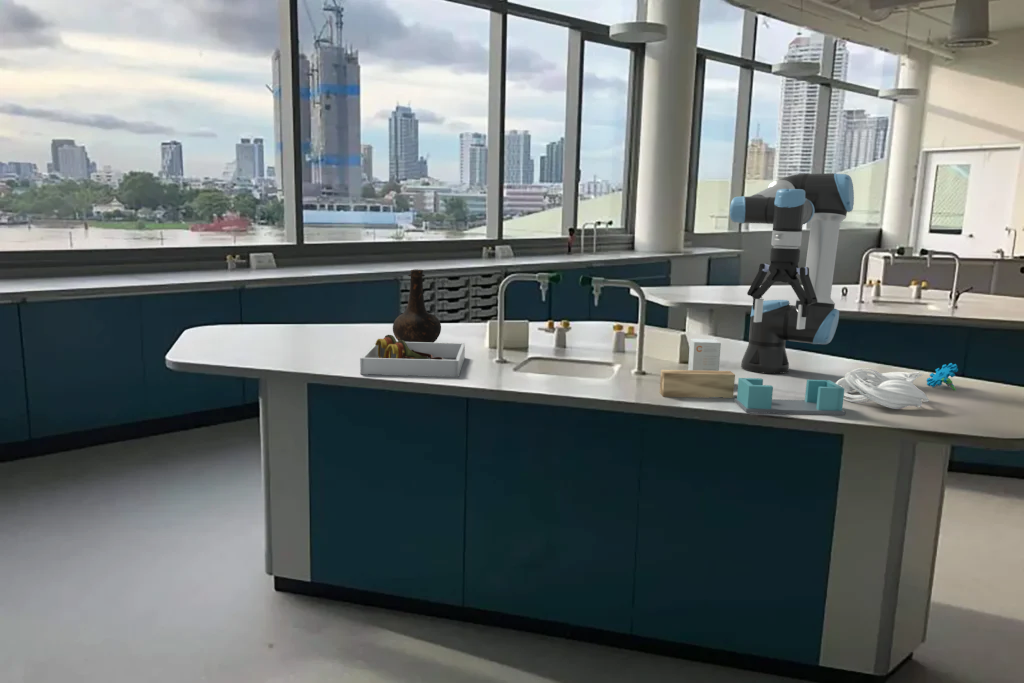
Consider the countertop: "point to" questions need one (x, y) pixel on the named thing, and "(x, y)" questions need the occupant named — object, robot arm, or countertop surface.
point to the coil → (883, 388)
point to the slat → (697, 383)
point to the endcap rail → (817, 400)
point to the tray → (417, 361)
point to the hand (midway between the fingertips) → (778, 325)
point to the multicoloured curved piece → (399, 350)
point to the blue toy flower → (943, 376)
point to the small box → (704, 354)
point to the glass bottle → (416, 315)
